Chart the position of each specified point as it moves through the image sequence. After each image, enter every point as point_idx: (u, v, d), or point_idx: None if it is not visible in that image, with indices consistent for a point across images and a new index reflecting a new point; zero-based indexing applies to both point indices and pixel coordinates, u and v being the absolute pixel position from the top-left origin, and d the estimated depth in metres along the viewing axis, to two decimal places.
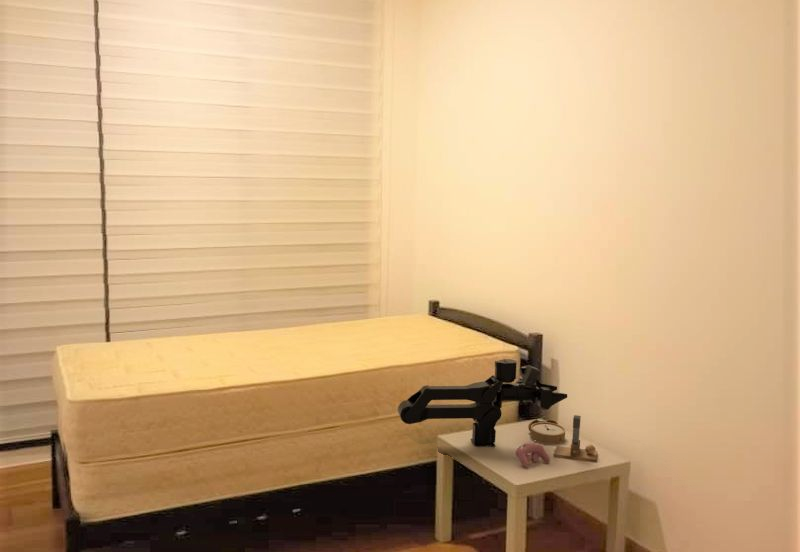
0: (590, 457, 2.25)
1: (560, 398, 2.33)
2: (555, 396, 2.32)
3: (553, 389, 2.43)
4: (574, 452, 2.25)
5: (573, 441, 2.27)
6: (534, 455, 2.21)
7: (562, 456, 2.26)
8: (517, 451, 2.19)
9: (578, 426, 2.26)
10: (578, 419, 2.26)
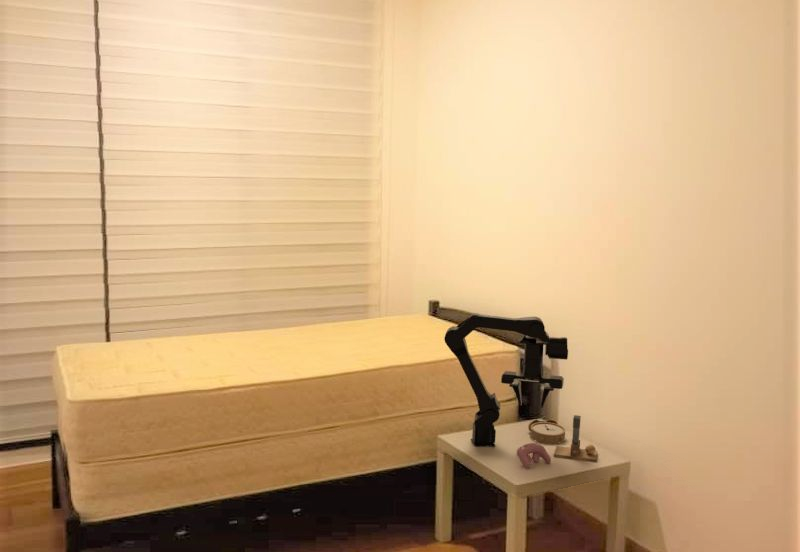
0: (590, 457, 2.25)
1: None
2: None
3: (521, 402, 2.34)
4: (574, 452, 2.25)
5: (573, 441, 2.27)
6: (535, 455, 2.21)
7: (562, 456, 2.26)
8: (518, 451, 2.19)
9: (578, 426, 2.26)
10: (578, 419, 2.26)
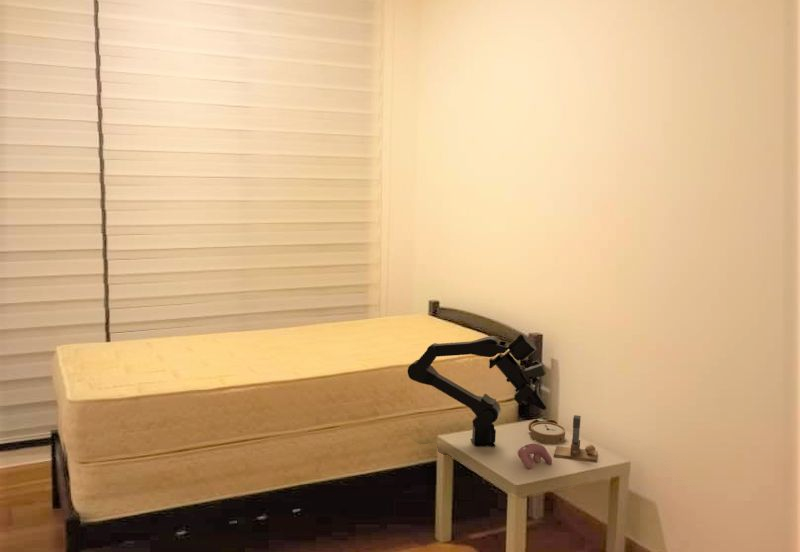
0: (590, 457, 2.25)
1: (538, 404, 2.29)
2: (536, 399, 2.29)
3: None
4: (574, 452, 2.25)
5: (573, 441, 2.27)
6: (536, 456, 2.21)
7: (562, 456, 2.26)
8: (519, 452, 2.19)
9: (578, 426, 2.26)
10: (578, 419, 2.26)
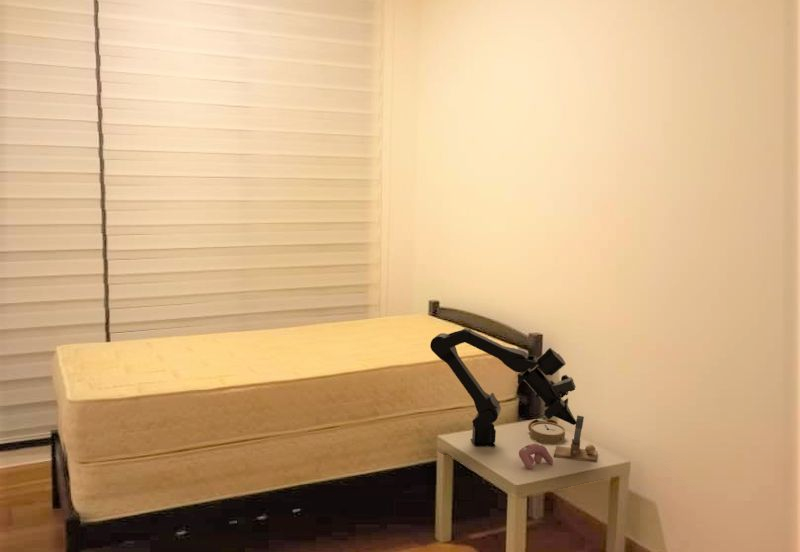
0: (590, 457, 2.25)
1: (568, 419, 2.27)
2: (565, 414, 2.27)
3: None
4: (574, 452, 2.25)
5: (574, 441, 2.27)
6: (537, 456, 2.21)
7: (562, 456, 2.26)
8: (520, 452, 2.18)
9: (580, 427, 2.26)
10: (581, 420, 2.26)
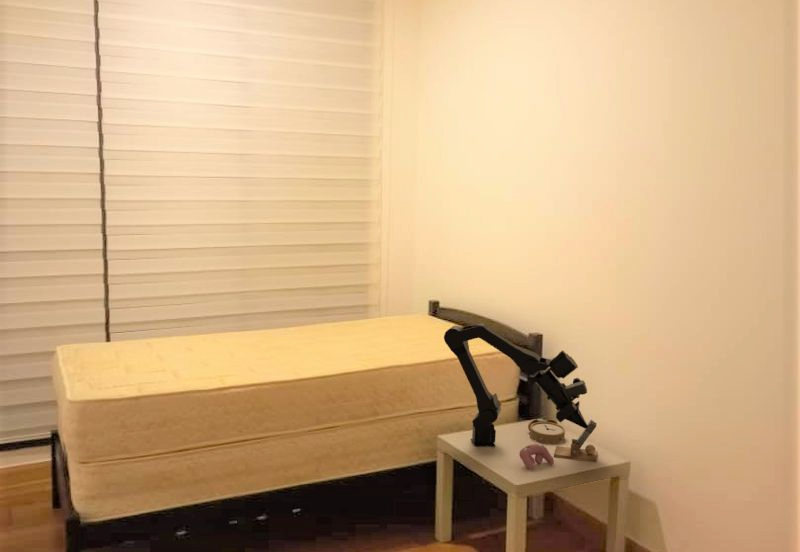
0: (590, 457, 2.25)
1: (579, 423, 2.26)
2: (577, 417, 2.26)
3: None
4: (574, 452, 2.25)
5: (578, 442, 2.27)
6: (538, 456, 2.20)
7: (562, 456, 2.26)
8: (521, 452, 2.18)
9: (590, 432, 2.25)
10: (594, 426, 2.25)
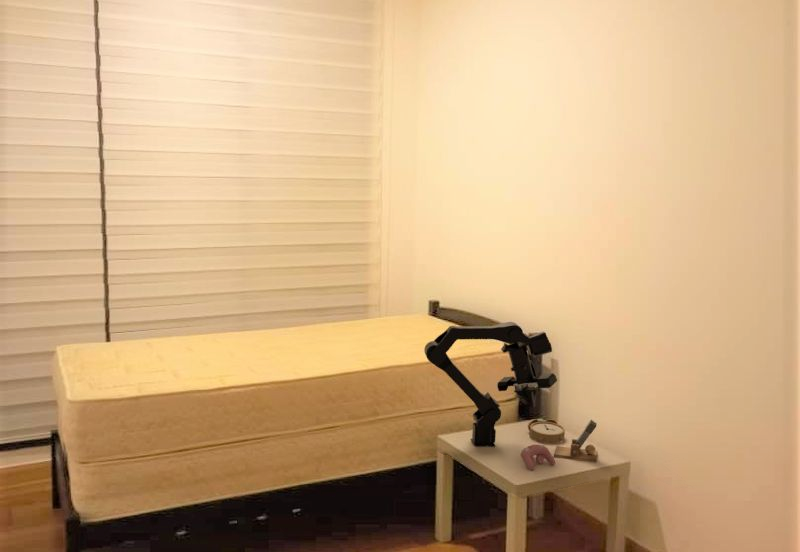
0: (590, 457, 2.25)
1: (533, 400, 2.35)
2: (534, 394, 2.35)
3: None
4: (574, 452, 2.25)
5: (578, 442, 2.27)
6: (539, 457, 2.20)
7: (562, 456, 2.26)
8: (522, 453, 2.18)
9: (590, 432, 2.25)
10: (594, 426, 2.25)
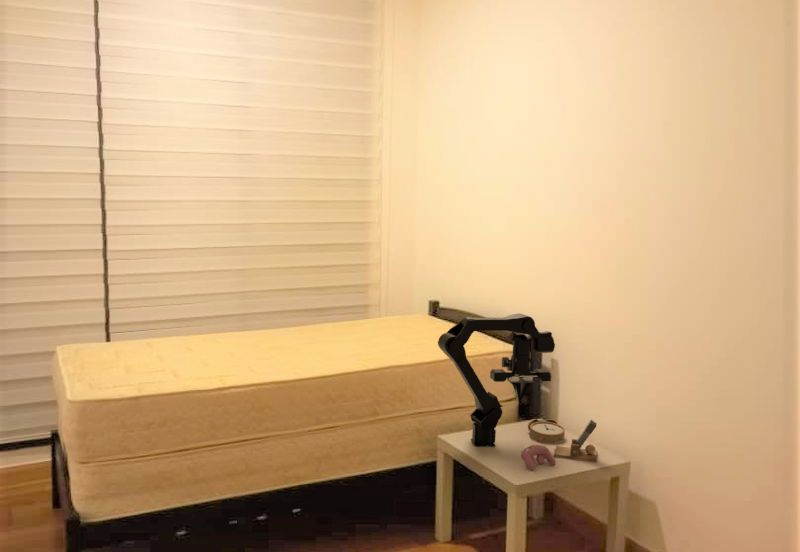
0: (590, 457, 2.25)
1: None
2: None
3: None
4: (574, 452, 2.25)
5: (578, 442, 2.27)
6: (539, 457, 2.20)
7: (562, 456, 2.26)
8: (522, 453, 2.18)
9: (590, 432, 2.25)
10: (594, 426, 2.25)
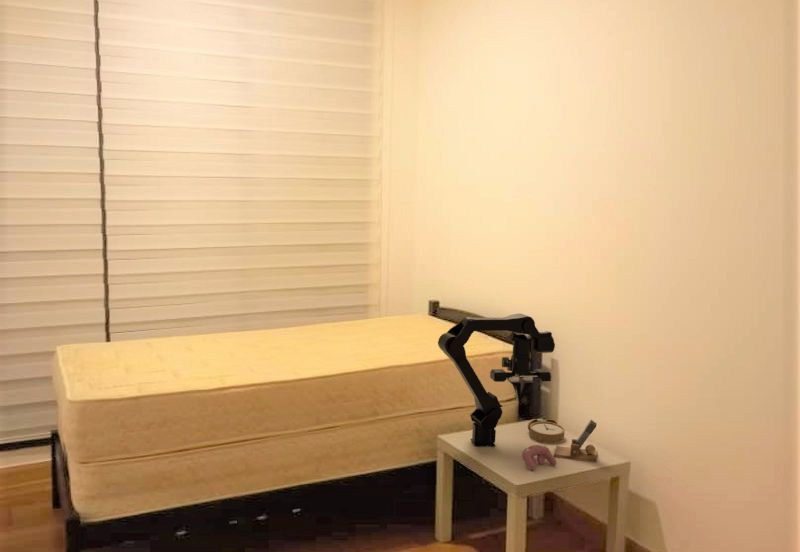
0: (590, 457, 2.25)
1: None
2: None
3: None
4: (574, 452, 2.25)
5: (578, 442, 2.27)
6: (540, 457, 2.20)
7: (562, 456, 2.26)
8: (523, 453, 2.17)
9: (590, 432, 2.25)
10: (594, 426, 2.25)
